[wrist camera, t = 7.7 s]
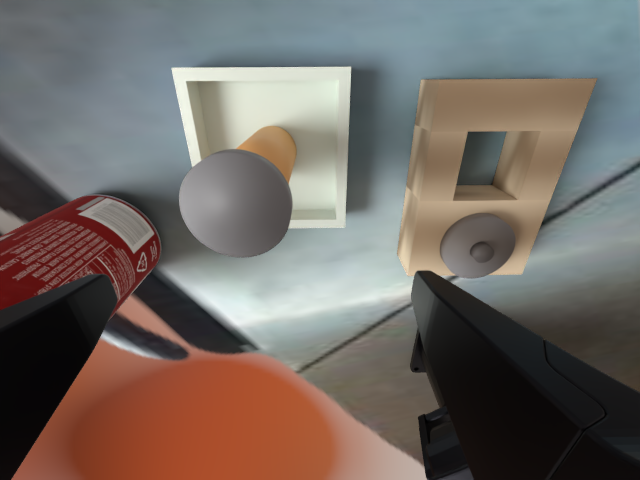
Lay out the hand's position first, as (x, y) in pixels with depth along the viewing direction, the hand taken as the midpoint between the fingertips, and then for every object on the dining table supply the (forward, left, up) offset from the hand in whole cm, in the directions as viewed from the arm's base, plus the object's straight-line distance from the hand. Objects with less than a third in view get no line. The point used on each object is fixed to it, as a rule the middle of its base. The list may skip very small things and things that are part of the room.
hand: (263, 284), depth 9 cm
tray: (+1, +1, -13) cm, 13 cm away
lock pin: (+1, +1, -12) cm, 12 cm away
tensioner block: (-1, -12, -13) cm, 17 cm away
